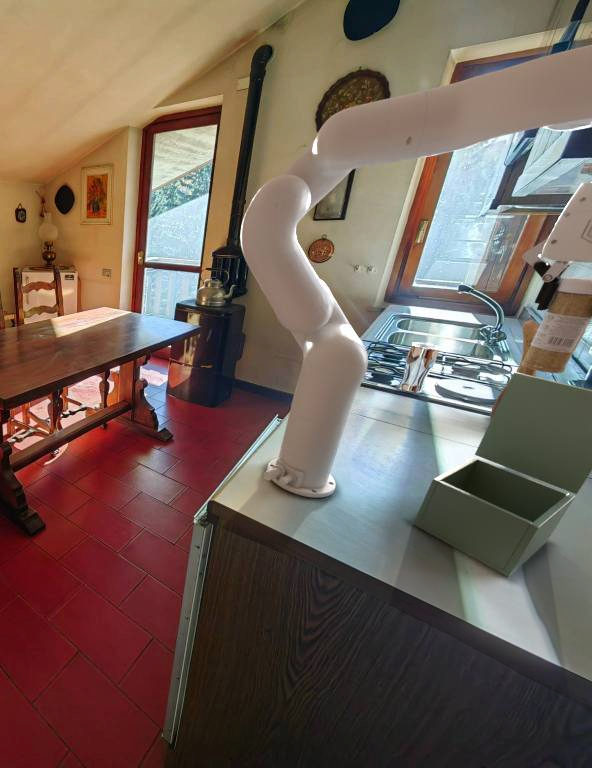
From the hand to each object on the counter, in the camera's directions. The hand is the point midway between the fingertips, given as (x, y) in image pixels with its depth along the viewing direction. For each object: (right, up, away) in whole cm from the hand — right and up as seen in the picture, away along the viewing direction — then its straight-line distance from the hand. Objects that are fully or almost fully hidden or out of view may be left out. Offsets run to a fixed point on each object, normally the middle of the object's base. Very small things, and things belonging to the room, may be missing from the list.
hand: (570, 311), depth 56 cm
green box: (-1, -36, +12) cm, 38 cm away
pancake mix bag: (+42, -22, +48) cm, 67 cm away
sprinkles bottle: (0, -8, +4) cm, 9 cm away
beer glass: (+37, -12, +71) cm, 81 cm away
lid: (+6, -18, +8) cm, 21 cm away
